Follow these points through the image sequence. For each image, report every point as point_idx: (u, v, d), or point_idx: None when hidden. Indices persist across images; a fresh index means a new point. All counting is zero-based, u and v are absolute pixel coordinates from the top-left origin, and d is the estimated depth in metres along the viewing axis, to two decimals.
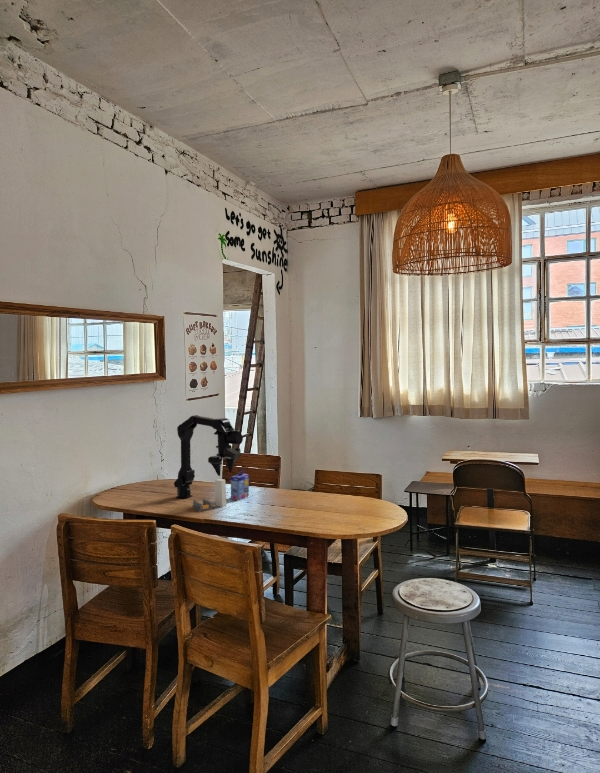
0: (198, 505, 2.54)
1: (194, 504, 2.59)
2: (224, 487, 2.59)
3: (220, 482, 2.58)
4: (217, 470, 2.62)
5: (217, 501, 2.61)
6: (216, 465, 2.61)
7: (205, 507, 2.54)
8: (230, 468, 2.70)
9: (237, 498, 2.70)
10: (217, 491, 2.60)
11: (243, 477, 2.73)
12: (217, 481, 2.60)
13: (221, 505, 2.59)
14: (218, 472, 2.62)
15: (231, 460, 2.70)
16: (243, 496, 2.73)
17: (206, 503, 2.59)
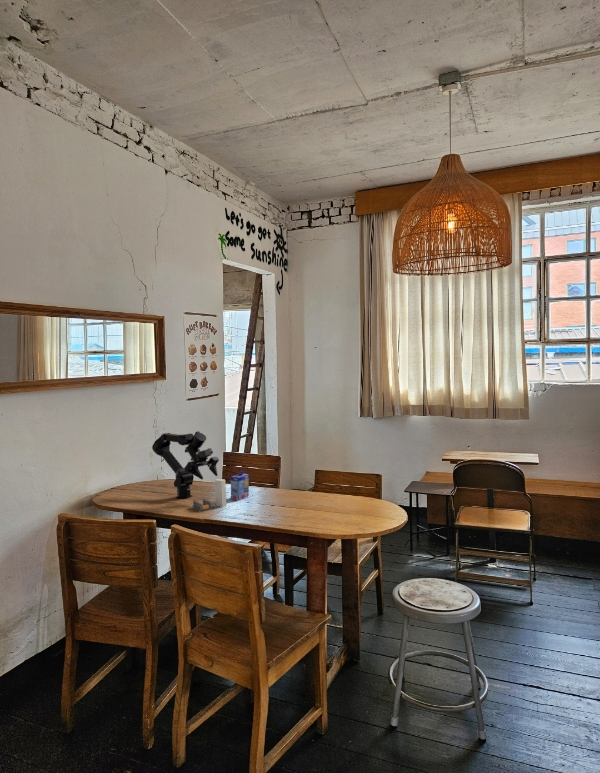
0: (198, 505, 2.54)
1: (194, 504, 2.59)
2: (224, 487, 2.59)
3: (220, 482, 2.58)
4: (198, 474, 2.63)
5: (217, 501, 2.61)
6: (195, 471, 2.64)
7: (205, 507, 2.54)
8: (215, 472, 2.70)
9: (237, 498, 2.70)
10: (217, 491, 2.60)
11: (243, 477, 2.73)
12: (217, 481, 2.60)
13: (221, 505, 2.59)
14: (200, 476, 2.63)
15: (212, 465, 2.72)
16: (243, 496, 2.73)
17: (206, 503, 2.59)
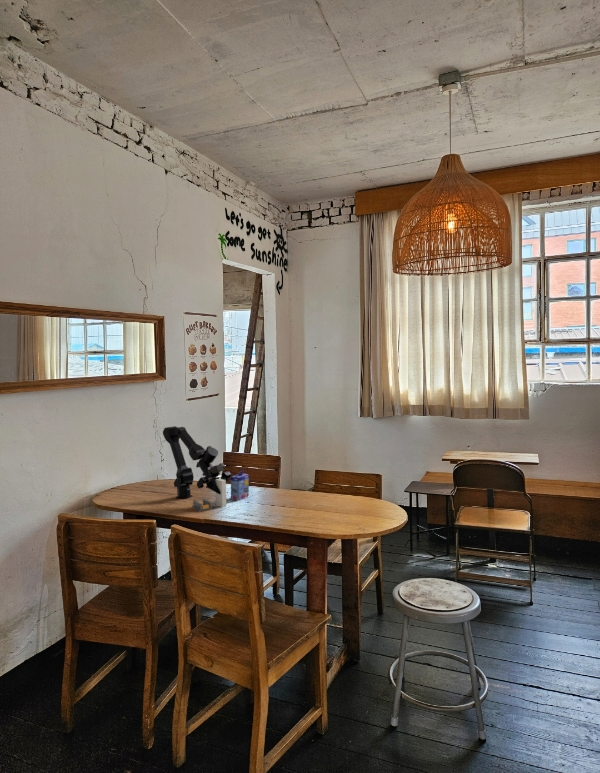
0: (198, 505, 2.54)
1: (194, 504, 2.59)
2: (224, 487, 2.59)
3: (220, 482, 2.59)
4: (215, 489, 2.59)
5: (217, 501, 2.61)
6: (212, 486, 2.60)
7: (205, 507, 2.54)
8: None
9: (237, 498, 2.70)
10: None
11: (243, 477, 2.73)
12: (217, 481, 2.60)
13: (221, 505, 2.59)
14: (217, 490, 2.59)
15: None
16: (243, 496, 2.73)
17: (206, 503, 2.59)
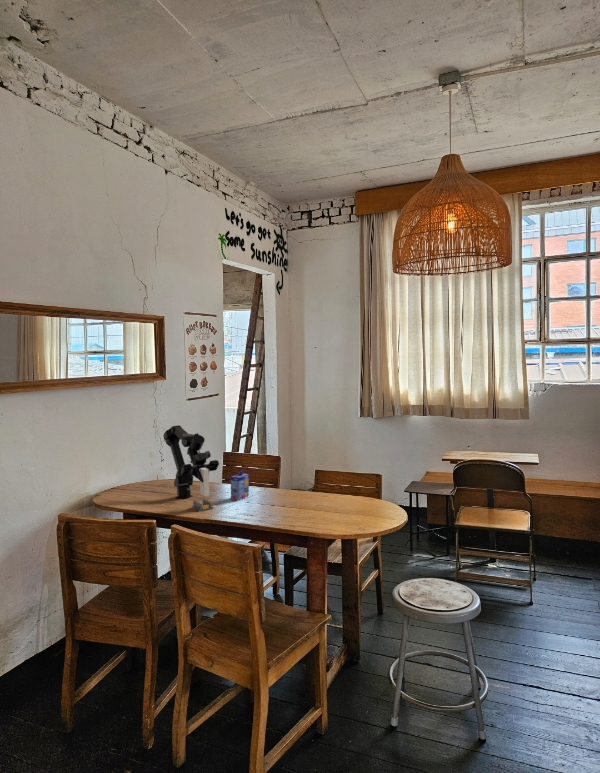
0: (198, 505, 2.54)
1: (194, 504, 2.59)
2: (207, 476, 2.56)
3: (203, 471, 2.55)
4: (199, 477, 2.57)
5: (201, 490, 2.58)
6: (196, 473, 2.58)
7: (205, 507, 2.54)
8: None
9: (237, 498, 2.70)
10: None
11: (243, 477, 2.73)
12: (201, 470, 2.57)
13: (204, 494, 2.56)
14: (200, 478, 2.56)
15: None
16: (243, 496, 2.73)
17: (206, 503, 2.59)
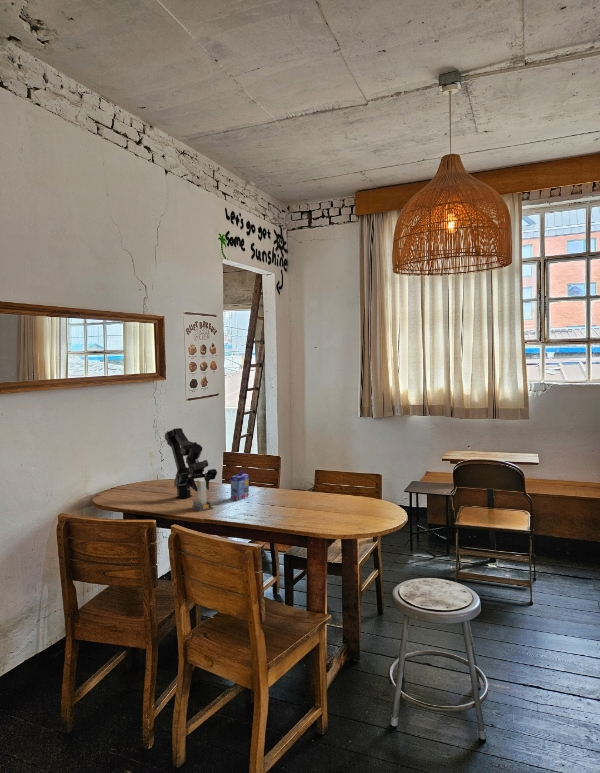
0: (198, 505, 2.54)
1: (194, 504, 2.59)
2: (204, 488, 2.56)
3: (200, 482, 2.55)
4: (193, 487, 2.56)
5: (199, 501, 2.58)
6: (191, 483, 2.58)
7: (205, 507, 2.54)
8: (207, 486, 2.59)
9: (237, 498, 2.70)
10: (198, 492, 2.58)
11: (243, 477, 2.73)
12: (198, 481, 2.57)
13: None
14: (195, 488, 2.55)
15: (205, 478, 2.61)
16: (243, 496, 2.73)
17: None
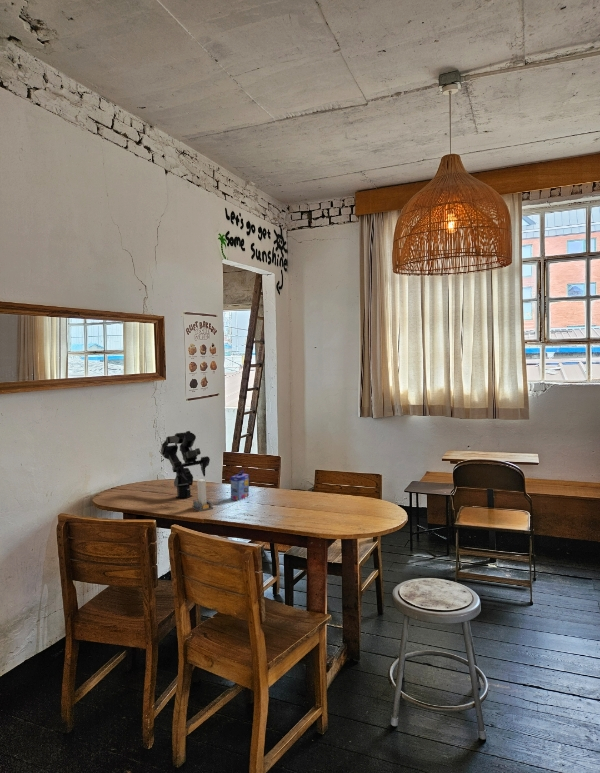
0: (198, 505, 2.54)
1: (194, 504, 2.59)
2: (204, 488, 2.56)
3: (200, 482, 2.55)
4: (183, 475, 2.64)
5: (199, 501, 2.58)
6: (181, 471, 2.65)
7: (205, 507, 2.54)
8: (203, 472, 2.68)
9: (237, 498, 2.70)
10: (198, 492, 2.58)
11: (243, 477, 2.73)
12: (198, 481, 2.57)
13: None
14: (184, 476, 2.63)
15: (202, 465, 2.70)
16: (243, 496, 2.73)
17: None
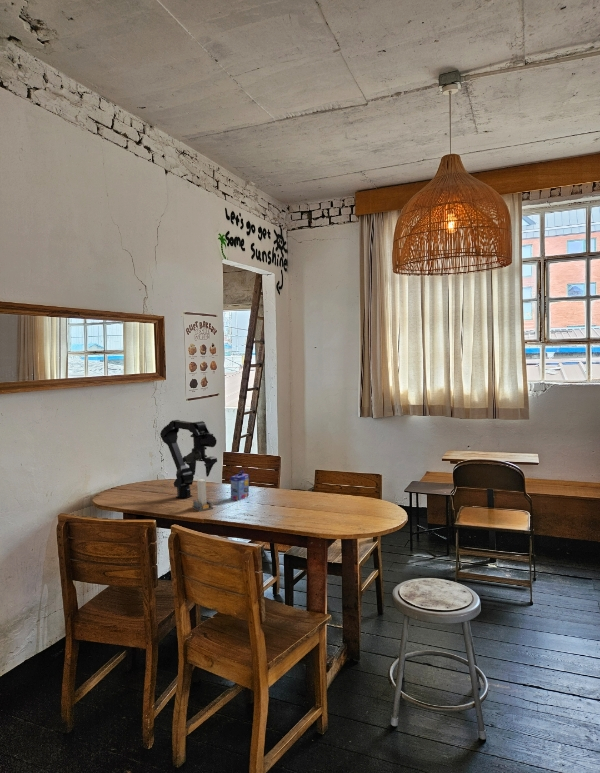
0: (198, 505, 2.54)
1: (194, 504, 2.59)
2: (204, 488, 2.56)
3: (200, 482, 2.55)
4: None
5: (199, 501, 2.58)
6: None
7: (205, 507, 2.54)
8: None
9: (237, 498, 2.70)
10: (198, 492, 2.58)
11: (243, 477, 2.73)
12: (198, 481, 2.57)
13: None
14: None
15: None
16: (243, 496, 2.73)
17: None
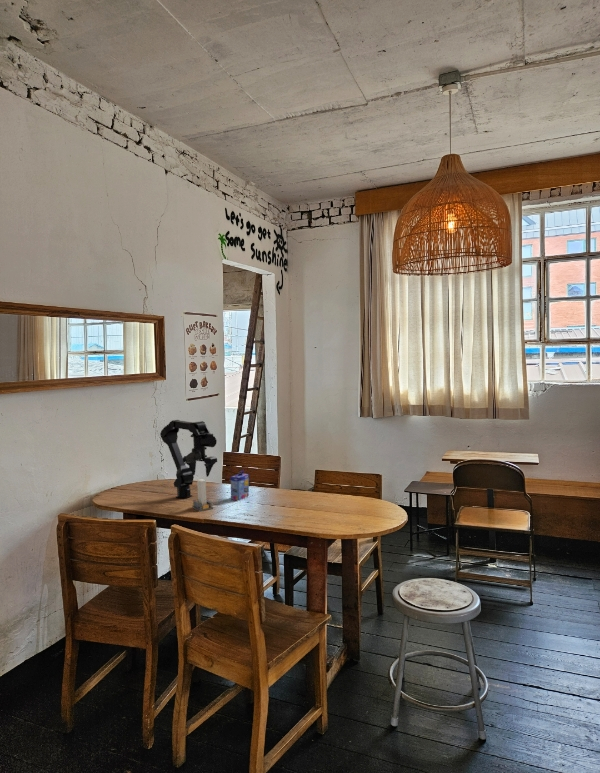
0: (198, 505, 2.54)
1: (194, 504, 2.59)
2: (204, 488, 2.56)
3: (200, 482, 2.55)
4: None
5: (199, 501, 2.58)
6: None
7: (205, 507, 2.54)
8: None
9: (237, 498, 2.70)
10: (198, 492, 2.58)
11: (243, 477, 2.73)
12: (198, 481, 2.57)
13: None
14: None
15: None
16: (243, 496, 2.73)
17: None
